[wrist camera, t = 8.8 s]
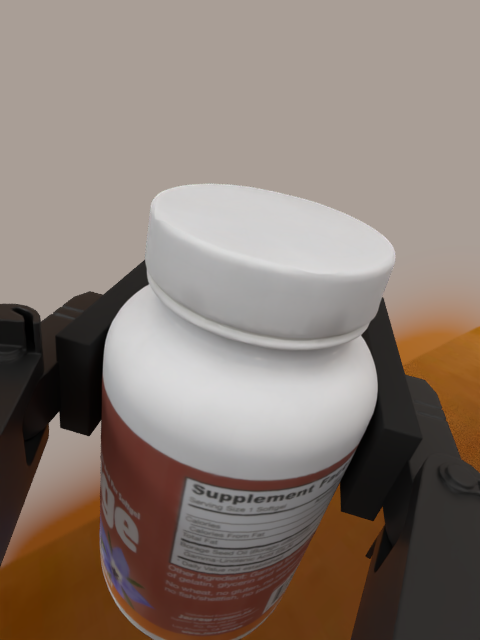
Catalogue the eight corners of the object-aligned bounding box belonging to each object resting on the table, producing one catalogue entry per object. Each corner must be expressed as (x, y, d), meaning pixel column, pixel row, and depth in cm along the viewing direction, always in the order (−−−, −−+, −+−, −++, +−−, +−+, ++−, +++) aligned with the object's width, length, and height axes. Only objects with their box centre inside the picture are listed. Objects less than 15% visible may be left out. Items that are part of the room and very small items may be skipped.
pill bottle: (111, 465, 15) (122, 158, 9) (267, 464, 16) (355, 196, 11) (82, 674, 10) (68, 266, 4) (313, 646, 11) (528, 312, 6)
